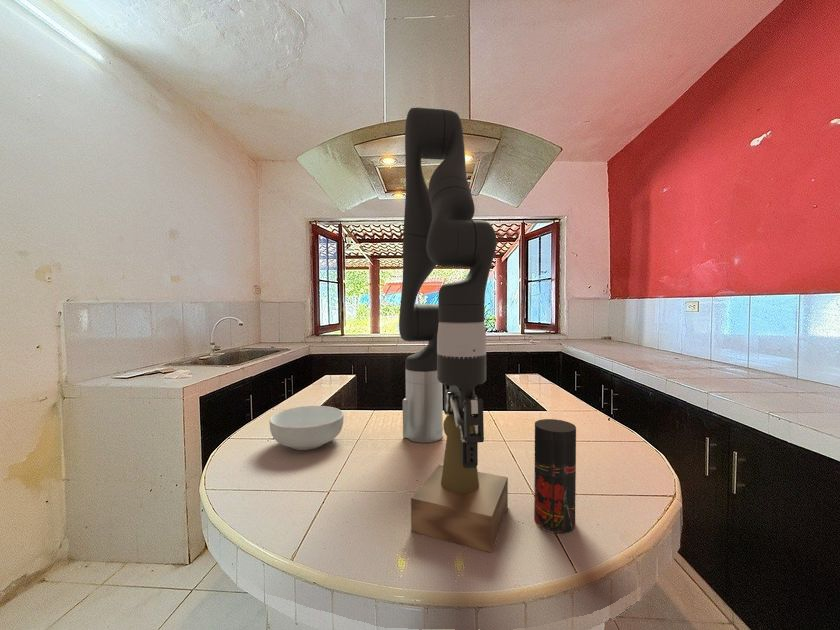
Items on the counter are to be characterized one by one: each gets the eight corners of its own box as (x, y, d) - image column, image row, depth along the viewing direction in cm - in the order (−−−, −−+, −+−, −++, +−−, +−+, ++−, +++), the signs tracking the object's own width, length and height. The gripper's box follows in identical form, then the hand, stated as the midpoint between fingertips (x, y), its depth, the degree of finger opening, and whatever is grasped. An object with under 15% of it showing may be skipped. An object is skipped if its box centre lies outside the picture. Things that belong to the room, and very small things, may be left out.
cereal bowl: (286, 466, 77) (285, 432, 77) (260, 443, 89) (259, 414, 89) (357, 444, 88) (356, 415, 88) (324, 427, 101) (324, 401, 100)
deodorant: (528, 511, 60) (528, 419, 59) (563, 509, 60) (564, 418, 59) (543, 534, 54) (544, 432, 53) (583, 532, 54) (583, 431, 54)
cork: (484, 479, 60) (484, 412, 59) (471, 497, 55) (471, 423, 54) (450, 471, 63) (449, 407, 62) (434, 487, 57) (434, 418, 57)
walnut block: (411, 531, 55) (410, 498, 54) (439, 492, 66) (439, 464, 65) (491, 552, 50) (491, 516, 50) (507, 506, 61) (507, 477, 61)
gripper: (501, 357, 50) (501, 474, 51) (471, 345, 64) (472, 436, 65) (447, 359, 49) (448, 478, 50) (429, 346, 63) (430, 439, 64)
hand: (461, 454), depth 57 cm, fingers open, 8 cm apart
